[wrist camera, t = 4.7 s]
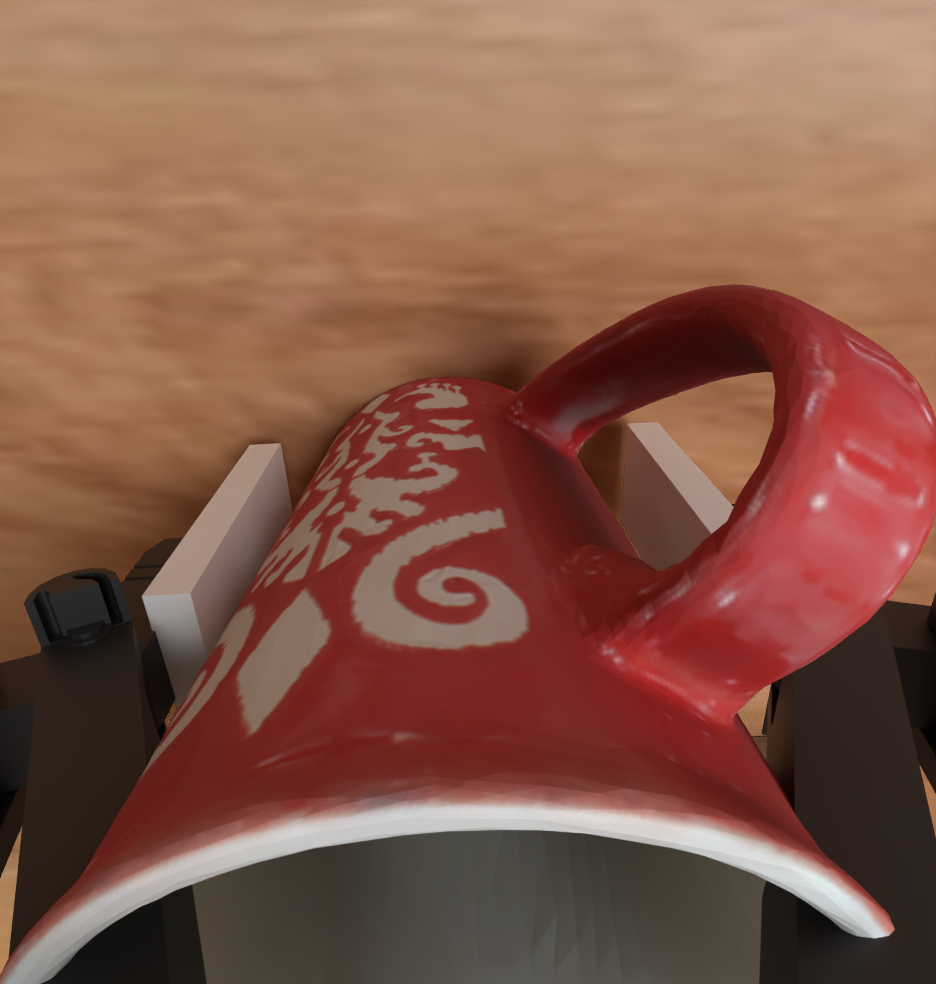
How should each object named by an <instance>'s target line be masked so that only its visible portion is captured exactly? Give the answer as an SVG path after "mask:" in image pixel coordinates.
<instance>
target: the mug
mask: <svg viewBox="0 0 936 984" xmlns="http://www.w3.org/2000/svg"><path fill="white" fill-rule="evenodd" d="M760 372H773V378H774V384H775V391H776V392H775V401H774V410H773V411H774V423H773V428H772V431H771V434H770V436H769V439H768V442H767V445H766V447H765V450H764V453H763V456H762V458H761V461H760V464H759V465H758V467H757V468H756V470H755V471H754V473H753V474H752V476H751V477H750V479H749V480H748V482H747V483H746V485H745V486H744V488H743V490H742V491H741V493H740V495H739V496H738V498H737V501H736V503H735V505H734V507H733V509H732V512H731V514H730V516H729V518H728V520H727V521H726V522H725V523H724V524H723V525H722V526H720V527H719V528H718V529H717V530H716V531H714V532H713V533H712V534H711V535H710V536H708V537H707V538H706V539H705V540H704V541H702V542H701V544H700V545H699V546H698V547H697V548H696V549H695V550H694V551H693V553H692V554H691V555H690V556H689V557H687V558H686V559H685V560H683V561H682V562H681V563H677V564H673V565H672V566H670V567H668V568H666V569H665V570H659V571H657V570H656V569H654V568H653V567H651V566H650V565H648V564H647V563H645V562H644V561H642V560H641V559H639V557H638V555H637V553H636V551H635V549H634V548H633V546H632V545H631V543H630V541H629V540H628V538H627V537H626V535H625V534H624V532H623V530H622V529H621V527H620V526H619V524H618V523H617V521H616V519H615V518H614V516H613V515H612V513H611V511H610V510H609V508H608V506H607V505H606V503H605V501H604V500H603V498H602V497H601V495H600V493H599V492H598V490H597V489H596V487H595V486H594V484H593V483H592V481H591V479H590V478H589V476H588V474H587V472H586V471H585V469H584V468H583V466H582V464H581V462H580V460H579V458H578V453H579V451H580V449H581V448H582V446H583V444H584V443H585V442H586V441H587V440H588V439H589V438H590V437H591V436H592V435H593V434H594V433H595V432H596V431H598V430H599V429H600V428H602V427H603V426H605V425H606V424H608V423H609V422H611V421H613V420H615V419H618V418H620V417H621V416H623V415H625V414H627V413H629V412H631V411H633V410H636V409H638V408H641V407H643V406H645V405H648V404H650V403H653V402H655V401H658V400H661V399H663V398H666V397H670V396H673V395H676V394H678V393H679V392H683V391H686V390H690V389H693V388H695V387H698V386H701V385H704V384H707V383H710V382H713V381H717V380H720V379H724V378H730V377H735V376H741V375H746V374H751V373H760ZM935 515H936V418H935V415H934V412H933V410H932V407H931V405H930V403H929V401H928V399H927V397H926V395H925V393H924V391H923V389H922V388H921V386H920V385H919V383H918V382H917V380H916V379H915V377H914V376H913V375H912V374H911V373H910V372H909V371H908V370H907V369H906V368H905V367H904V366H903V365H902V364H901V363H900V362H898V361H897V360H896V359H895V358H894V357H893V356H892V355H891V354H890V353H889V352H887V351H886V350H885V349H883V348H882V347H881V346H879V345H878V344H876V343H875V342H874V341H872V340H870V339H869V338H867V337H866V336H864V335H862V334H861V333H859V332H858V331H856V330H854V329H853V328H851V327H849V326H848V325H846V324H844V323H843V322H841V321H839V320H837V319H835V318H833V317H832V316H830V315H828V314H826V313H824V312H822V311H821V310H819V309H817V308H815V307H813V306H811V305H809V304H807V303H805V302H803V301H801V300H799V299H797V298H795V297H792V296H789V295H786V294H784V293H781V292H778V291H774V290H769V289H765V288H760V287H756V286H749V285H736V284H734V285H723V286H712V287H706V288H702V289H697V290H693V291H689V292H686V293H682V294H679V295H676V296H672V297H669V298H666V299H664V300H662V301H659V302H657V303H654V304H652V305H650V306H648V307H646V308H644V309H642V310H640V311H638V312H636V313H634V314H632V315H630V316H628V317H626V318H625V319H623V320H621V321H619V322H618V323H616V324H614V325H612V326H610V327H608V328H606V329H604V330H603V331H601V332H600V333H598V334H596V335H595V336H593V337H592V338H590V339H588V340H587V341H585V342H584V343H582V344H580V345H579V346H577V347H575V348H574V349H573V350H571V351H570V352H569V353H567V354H566V355H565V356H563V357H562V358H560V359H559V360H558V361H556V362H555V363H553V364H552V365H550V366H549V367H548V368H546V369H545V370H544V371H542V372H541V373H540V374H538V375H537V376H536V377H535V378H533V379H532V380H531V381H529V382H528V383H527V384H526V385H525V386H523V387H522V388H521V389H520V390H519V391H518V392H515V391H513V390H510V389H508V388H505V387H503V386H500V385H497V384H495V383H491V382H486V381H482V380H477V379H473V378H465V377H439V378H430V379H423V380H419V381H414V382H411V383H408V384H405V385H402V386H399V387H397V388H394V389H392V390H390V391H388V392H386V393H384V394H383V395H381V396H379V397H378V398H376V399H375V400H373V401H372V402H370V403H369V404H367V405H366V406H364V407H363V408H362V409H361V410H360V411H359V412H357V413H356V414H355V415H354V416H353V417H352V418H351V419H350V420H349V421H348V422H347V424H346V425H345V426H344V427H343V429H342V430H341V431H340V433H339V434H338V435H337V437H336V438H335V440H334V441H333V443H332V445H331V446H330V448H329V450H328V451H327V453H326V455H325V457H324V459H323V461H322V463H321V465H320V466H319V468H318V470H317V471H316V473H315V475H314V477H313V478H312V480H311V481H310V483H309V484H308V486H307V488H306V490H305V492H304V493H303V495H302V497H301V499H300V501H299V502H298V504H297V506H296V507H295V509H294V511H293V513H292V514H291V516H290V518H289V519H288V521H287V523H286V524H285V526H284V528H283V530H282V531H281V533H280V535H279V537H278V538H277V540H276V541H275V543H274V544H273V546H272V547H271V549H270V551H269V552H268V554H267V556H266V558H265V560H264V562H263V564H262V566H261V568H260V570H259V571H258V573H257V575H256V577H255V578H254V580H253V582H252V584H251V585H250V587H249V589H248V591H247V592H246V594H245V596H244V598H243V599H242V601H241V603H240V605H239V606H238V608H237V610H236V612H235V614H234V615H233V617H232V619H231V621H230V622H229V624H228V626H227V627H226V629H225V631H224V633H223V634H222V636H221V638H220V639H219V641H218V643H217V644H216V646H215V648H214V649H213V651H212V653H211V654H210V656H209V657H208V659H207V660H206V662H205V663H204V665H203V666H202V668H201V670H200V671H199V673H198V675H197V677H196V678H195V680H194V682H193V684H192V686H191V687H190V689H189V691H188V693H187V695H186V697H185V699H184V700H183V702H182V703H181V705H180V706H179V707H178V709H177V711H176V712H175V714H174V716H173V718H172V720H171V722H170V724H169V726H168V728H167V730H166V732H165V734H164V736H163V738H162V740H161V741H160V743H159V745H158V747H157V748H156V750H155V752H154V754H153V756H152V757H151V759H150V761H149V763H148V765H147V767H146V769H145V771H144V772H143V774H142V776H141V777H140V779H139V780H138V782H137V784H136V785H135V787H134V789H133V790H132V792H131V794H130V795H129V797H128V798H127V800H126V802H125V803H124V805H123V807H122V808H121V810H120V812H119V813H118V815H117V817H116V818H115V820H114V822H113V824H112V825H111V827H110V829H109V830H108V832H107V834H106V835H105V837H104V839H103V840H102V842H101V844H100V846H99V847H98V849H97V851H96V852H95V854H94V856H93V857H92V859H91V861H90V862H89V864H88V866H87V867H86V869H85V871H84V872H83V874H82V875H81V876H80V878H79V879H78V880H77V882H76V883H75V884H74V885H73V886H72V887H71V888H70V889H69V890H68V891H67V892H66V893H65V894H64V895H63V896H62V897H61V898H60V899H59V900H58V901H57V902H56V903H55V904H54V905H53V906H52V907H51V908H50V909H49V910H48V911H47V912H46V914H45V915H44V916H43V917H42V918H41V919H40V920H39V921H38V922H37V923H36V925H35V926H34V927H33V928H32V929H31V930H30V931H29V932H28V933H27V935H26V936H25V937H24V939H23V940H22V941H21V943H20V944H19V945H18V947H17V948H16V949H15V951H14V952H13V954H12V955H11V956H10V958H9V959H8V960H7V963H6V965H5V967H4V969H3V971H2V973H1V975H0V984H41V983H43V982H45V981H48V980H50V979H52V978H53V977H54V976H55V975H56V974H57V973H58V972H59V971H60V970H61V969H62V968H63V967H64V966H65V965H66V964H67V963H68V962H69V961H70V960H71V959H72V958H73V956H74V955H75V954H76V953H77V951H79V950H80V949H81V948H82V947H83V946H84V945H85V944H86V943H88V942H89V941H90V940H91V939H92V938H93V937H94V936H96V935H97V934H98V933H100V932H101V931H102V930H104V929H105V928H107V927H108V926H109V925H111V924H112V923H114V922H115V921H117V920H119V919H120V918H122V917H124V916H126V915H127V914H129V913H131V912H132V911H134V910H136V909H137V908H139V907H141V906H143V905H146V904H148V903H151V902H153V901H156V900H158V899H160V898H162V897H164V896H166V895H167V894H169V893H171V892H173V891H175V890H178V889H180V888H183V887H186V886H189V885H191V884H192V888H193V895H194V902H195V908H196V915H197V922H198V928H199V935H200V941H201V948H202V955H203V961H204V968H205V975H206V981H207V984H759V975H760V942H761V910H762V894H763V890H764V887H765V883H766V881H769V882H771V883H773V884H775V885H777V886H779V887H781V888H783V889H785V890H787V891H789V892H791V893H792V894H794V895H796V896H797V897H799V898H801V899H802V900H804V901H805V902H807V903H808V904H810V905H811V906H812V907H814V908H815V909H817V910H818V911H819V912H821V913H822V914H824V915H825V916H827V917H828V918H829V919H830V920H832V921H833V922H834V923H835V924H836V925H837V926H838V927H840V928H841V929H842V930H844V931H846V932H848V933H851V934H853V935H856V936H860V937H869V938H879V937H885V936H889V935H890V934H891V933H892V932H893V931H894V930H895V929H894V926H893V924H892V921H891V919H890V916H889V915H888V913H887V912H886V911H885V909H884V908H882V906H881V905H880V904H879V903H878V902H877V901H876V900H875V899H874V898H873V897H872V896H871V895H870V894H869V893H868V892H867V891H866V890H865V889H864V888H863V887H862V886H861V885H860V884H859V883H858V882H857V881H856V880H854V879H853V878H852V877H851V876H850V875H848V874H847V873H846V872H845V871H844V870H842V869H841V868H840V867H839V866H838V865H836V864H835V863H834V862H833V861H832V860H831V859H829V858H828V857H827V856H826V855H825V854H824V853H823V852H822V851H821V850H820V848H819V847H818V846H817V845H816V843H815V842H814V840H813V839H812V837H811V836H810V834H809V833H808V832H807V830H806V829H805V828H804V827H803V825H802V824H801V822H800V821H799V819H798V818H797V816H796V815H795V813H794V810H793V807H792V804H791V802H790V799H789V797H788V795H787V793H786V792H785V790H784V788H783V787H782V785H781V784H780V782H779V780H778V779H777V777H776V776H775V774H774V772H773V771H772V769H771V768H770V766H769V764H768V763H767V761H766V760H765V758H764V756H763V755H762V753H761V751H760V750H759V748H758V747H757V745H756V743H755V742H754V740H753V738H752V737H751V735H750V733H749V732H748V730H747V728H746V727H745V725H744V724H743V722H742V720H741V719H740V717H739V715H738V714H737V712H738V711H739V710H740V709H741V708H742V707H743V706H744V705H745V704H746V703H747V702H748V701H749V700H750V699H751V698H752V697H753V696H754V695H755V694H756V693H757V692H759V691H760V690H761V689H762V688H764V687H765V686H767V685H769V684H771V683H773V682H775V681H777V680H779V679H781V678H783V677H785V676H787V675H789V674H791V673H792V672H794V671H796V670H798V669H800V668H802V667H804V666H805V665H807V664H809V663H811V662H812V661H814V660H815V659H817V658H818V657H820V656H821V655H823V654H824V653H826V652H827V651H829V650H830V649H832V648H833V647H835V646H836V645H837V644H839V643H840V642H841V641H842V640H844V639H845V638H846V637H848V636H849V635H850V634H851V633H853V632H854V631H855V630H857V629H858V628H859V627H861V626H862V625H863V624H865V623H866V622H867V621H868V620H869V619H870V618H871V617H872V616H873V615H874V614H875V613H876V612H877V611H878V610H879V608H880V607H881V606H882V605H883V604H884V603H885V602H886V601H887V600H888V599H889V598H890V596H891V595H892V594H893V593H894V591H895V590H896V588H897V587H898V585H899V584H900V583H901V581H902V580H903V578H904V577H905V575H906V574H907V572H908V570H909V569H910V567H911V566H912V564H913V563H914V561H915V559H916V558H917V556H918V555H919V553H920V551H921V549H922V547H923V545H924V543H925V541H926V539H927V537H928V534H929V532H930V530H931V527H932V524H933V521H934V518H935Z"/></svg>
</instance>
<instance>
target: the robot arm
mask: <svg viewBox="0 0 936 984" xmlns="http://www.w3.org/2000/svg"><path fill="white" fill-rule="evenodd" d="M734 505H735V504H730V503H729V502H728V500H727V499H726V498H725V497H724V496H723V495H722V494H721V493H720V492H719V490H718V489H717V488H716V487H715V486H714V485H713V484H712V483H711V481H710V480H709V479H708V478H707V477H706V476H705V475H704V474H703V473H702V471H701V470H700V469H699V468H698V467H697V466H696V465H695V464H694V462H693V461H692V460H691V459H690V458H689V457H688V456H687V455H686V454H685V452H684V451H683V450H682V449H681V448H680V447H679V446H678V445H677V444H676V442H675V441H674V440H673V439H672V438H671V437H670V436H669V435H668V433H667V432H666V431H665V430H664V429H663V428H662V427H661V426H660V425H659V423H658V422H650V423H632V424H627V434H626V450H625V466H624V483H623V499H622V515H621V521H622V523H623V525H624V527H625V529H626V531H627V533H628V534H629V536H630V538H631V540H632V542H633V544H634V546H635V548H636V549H637V551H638V553H639V555H640V557H641V559H642V561H644V562H645V563H647V564H648V565H650V566H651V567H653V568H654V569H656V570H657V571H659V570H665V569H666V568H668V567H670V566H672V565H673V564H677V563H681V562H682V561H683V560H685V559H686V558H687V557H689V556H690V555H691V554H692V553H693V551H694V550H695V549H696V548H697V547H698V546H699V545H700V544H701V542H702V541H704V540H705V539H706V538H707V537H708V536H710V535H711V534H712V533H713V532H714V531H716V530H717V529H718V528H719V527H720V526H722V525H723V524H724V523H725V522H726V521H727V520H728V518H729V516H730V514H731V512H732V509H733V507H734ZM292 513H293V510H292V504H291V498H290V493H289V487H288V482H287V476H286V470H285V465H284V459H283V453H282V448H281V443H275V444H257V445H249V447H248V448H247V450H246V451H245V452H244V454H243V455H242V457H241V458H240V459H239V461H238V462H237V464H236V465H235V466H234V468H233V469H232V471H231V472H230V473H229V475H228V476H227V478H226V479H225V480H224V482H223V483H222V485H221V486H220V487H219V489H218V490H217V492H216V493H215V494H214V496H213V497H212V499H211V500H210V501H209V503H208V504H207V506H206V507H205V508H204V510H203V511H202V513H201V514H200V515H199V517H198V518H197V520H196V521H195V522H194V524H193V525H192V527H191V528H190V529H189V531H188V532H187V534H186V535H185V536H184V538H172V539H164V540H163V541H161V542H160V543H158V544H157V545H155V546H154V547H152V548H151V549H149V550H148V551H146V552H145V553H144V555H143V556H142V557H141V558H140V560H139V561H138V562H137V564H136V565H135V566H134V569H132V570H131V571H130V572H129V574H128V575H127V576H126V578H125V581H122V583H121V584H120V581H119V578H118V576H117V575H116V573H115V572H113V571H110V570H107V569H94V568H90V569H84V570H78V571H73V572H70V573H67V574H64V575H61V576H58V577H55V578H53V579H51V580H49V581H47V582H45V583H44V584H42V585H40V586H39V587H37V588H36V589H35V590H34V591H32V592H31V593H30V594H29V595H28V597H27V599H26V601H25V602H24V605H25V607H26V610H27V612H28V615H29V617H30V620H31V622H32V625H33V627H34V630H35V632H36V635H37V637H38V640H39V642H40V645H41V653H38V654H35V655H32V656H28V657H24V658H20V659H16V660H12V661H8V662H4V663H0V877H1V875H2V872H3V870H4V868H5V865H6V863H7V860H8V858H9V856H10V853H11V851H12V848H13V846H14V844H15V841H16V839H17V836H18V834H19V832H20V829H21V827H22V835H21V845H20V854H19V864H18V873H17V883H16V893H15V902H14V912H13V921H12V931H11V940H10V950H9V958H10V956H11V955H12V954H13V952H14V951H15V949H16V948H17V947H18V945H19V944H20V943H21V941H22V940H23V939H24V937H25V936H26V935H27V933H28V932H29V931H30V930H31V929H32V928H33V927H34V926H35V925H36V923H37V922H38V921H39V920H40V919H41V918H42V917H43V916H44V915H45V914H46V912H47V911H48V910H49V909H50V908H51V907H52V906H53V905H54V904H55V903H56V902H57V901H58V900H59V899H60V898H61V897H62V896H63V895H64V894H65V893H66V892H67V891H68V890H69V889H70V888H71V887H72V886H73V885H74V884H75V883H76V882H77V880H78V879H79V878H80V876H81V875H82V874H83V872H84V871H85V869H86V867H87V866H88V864H89V862H90V861H91V859H92V857H93V856H94V854H95V852H96V851H97V849H98V847H99V846H100V844H101V842H102V840H103V839H104V837H105V835H106V834H107V832H108V830H109V829H110V827H111V825H112V824H113V822H114V820H115V818H116V817H117V815H118V813H119V812H120V810H121V808H122V807H123V805H124V803H125V802H126V800H127V798H128V797H129V795H130V794H131V792H132V790H133V789H134V787H135V785H136V784H137V782H138V780H139V779H140V777H141V776H142V774H143V772H144V771H145V769H146V767H147V765H148V763H149V761H150V759H151V757H152V756H153V754H154V752H155V750H156V748H157V747H158V745H159V743H160V741H161V740H162V738H163V736H164V734H165V732H166V730H167V728H166V725H165V721H164V720H165V718H166V717H167V715H168V713H169V711H170V709H171V707H172V705H173V703H175V706H176V709H178V707H179V706H180V705H181V703H182V702H183V700H184V699H185V697H186V695H187V693H188V691H189V689H190V687H191V686H192V684H193V682H194V680H195V678H196V677H197V675H198V673H199V671H200V670H201V668H202V666H203V665H204V663H205V662H206V660H207V659H208V657H209V656H210V654H211V653H212V651H213V649H214V648H215V646H216V644H217V643H218V641H219V639H220V638H221V636H222V634H223V633H224V631H225V629H226V627H227V626H228V624H229V622H230V621H231V619H232V617H233V615H234V614H235V612H236V610H237V608H238V606H239V605H240V603H241V601H242V599H243V598H244V596H245V594H246V592H247V591H248V589H249V587H250V585H251V584H252V582H253V580H254V578H255V577H256V575H257V573H258V571H259V570H260V568H261V566H262V564H263V562H264V560H265V558H266V556H267V554H268V552H269V551H270V549H271V547H272V546H273V544H274V543H275V541H276V540H277V538H278V537H279V535H280V533H281V531H282V530H283V528H284V526H285V524H286V523H287V521H288V519H289V518H290V516H291V514H292ZM762 734H764V735H767V749H766V761H767V763H768V764H769V766H770V768H771V769H772V771H773V772H774V774H775V776H776V777H777V779H778V780H779V782H780V784H781V785H782V787H783V788H784V790H785V792H786V793H787V795H788V797H789V799H790V802H791V804H792V807H793V810H794V813H795V815H796V816H797V818H798V819H799V821H800V822H801V824H802V825H803V827H804V828H805V829H806V830H807V832H808V833H809V834H810V836H811V837H812V839H813V840H814V842H815V843H816V845H817V846H818V847H819V848H820V850H821V851H822V852H823V853H824V854H825V855H826V856H827V857H828V858H829V859H831V860H832V861H833V862H834V863H835V864H836V865H838V866H839V867H840V868H841V869H842V870H844V871H845V872H846V873H847V874H848V875H850V876H851V877H852V878H853V879H854V880H856V881H857V882H858V883H859V884H860V885H861V886H862V887H863V888H864V889H865V890H866V891H867V892H868V893H869V894H870V895H871V896H872V897H873V898H874V899H875V900H876V901H877V902H878V903H879V904H880V905H881V906H882V908H884V909H885V911H886V912H887V913H888V915H889V916H890V919H891V921H892V924H893V926H894V929H895V930H894V931H893V932H892V933H891V934H890V935H889V936H885V937H879V938H869V937H860V936H856V935H853V934H851V933H848V932H846V931H844V930H842V929H841V928H840V927H838V926H837V925H836V924H835V923H834V922H833V921H832V920H830V919H829V918H828V917H827V916H825V915H824V914H822V913H821V912H819V911H818V910H817V909H815V908H814V907H812V906H811V905H810V904H808V903H807V902H805V901H804V900H802V899H801V898H799V897H797V896H796V895H794V894H792V893H791V892H789V891H787V890H785V889H783V888H781V887H779V886H777V885H775V884H773V883H771V882H769V881H766V883H765V887H764V890H763V894H762V910H761V942H760V975H759V984H936V837H935V833H934V828H933V824H932V820H931V815H930V811H929V806H928V802H927V797H926V793H925V788H924V784H923V779H922V775H921V770H920V766H921V768H922V770H923V771H924V773H925V775H926V777H927V779H928V780H929V782H930V784H931V786H932V788H933V789H934V791H935V793H936V593H935V596H934V599H933V602H932V606H926V605H918V604H910V603H901V602H893V601H888V600H887V601H886V602H885V603H884V604H883V605H882V606H881V607H880V608H879V610H878V611H877V612H876V613H875V614H874V615H873V616H872V617H871V618H870V619H869V620H868V621H867V622H866V623H865V624H863V625H862V626H861V627H859V628H858V629H857V630H855V631H854V632H853V633H851V634H850V635H849V636H848V637H846V638H845V639H844V640H842V641H841V642H840V643H839V644H837V645H836V646H835V647H833V648H832V649H830V650H829V651H827V652H826V653H824V654H823V655H821V656H820V657H818V658H817V659H815V660H814V661H812V662H811V663H809V664H807V665H805V666H804V667H802V668H800V669H798V670H796V671H794V672H792V673H791V674H789V675H787V676H785V677H783V678H781V679H779V680H777V681H775V682H773V683H771V688H770V693H769V698H768V703H767V708H766V714H765V719H764V724H763V729H762ZM919 764H920V766H919ZM22 824H23V826H22ZM41 984H207V981H206V975H205V968H204V961H203V955H202V948H201V941H200V935H199V928H198V922H197V915H196V908H195V902H194V895H193V888H192V884H191V885H189V886H186V887H183V888H180V889H178V890H175V891H173V892H171V893H169V894H167V895H166V896H164V897H162V898H160V899H158V900H156V901H153V902H151V903H148V904H146V905H143V906H141V907H139V908H137V909H136V910H134V911H132V912H131V913H129V914H127V915H126V916H124V917H122V918H120V919H119V920H117V921H115V922H114V923H112V924H111V925H109V926H108V927H107V928H105V929H104V930H102V931H101V932H100V933H98V934H97V935H96V936H94V937H93V938H92V939H91V940H90V941H89V942H88V943H86V944H85V945H84V946H83V947H82V948H81V949H80V950H79V951H77V953H76V954H75V955H74V956H73V958H72V959H71V960H70V961H69V962H68V963H67V964H66V965H65V966H64V967H63V968H62V969H61V970H60V971H59V972H58V973H57V974H56V975H55V976H54V977H53V978H52V979H50V980H48V981H45V982H43V983H41Z"/></svg>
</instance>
